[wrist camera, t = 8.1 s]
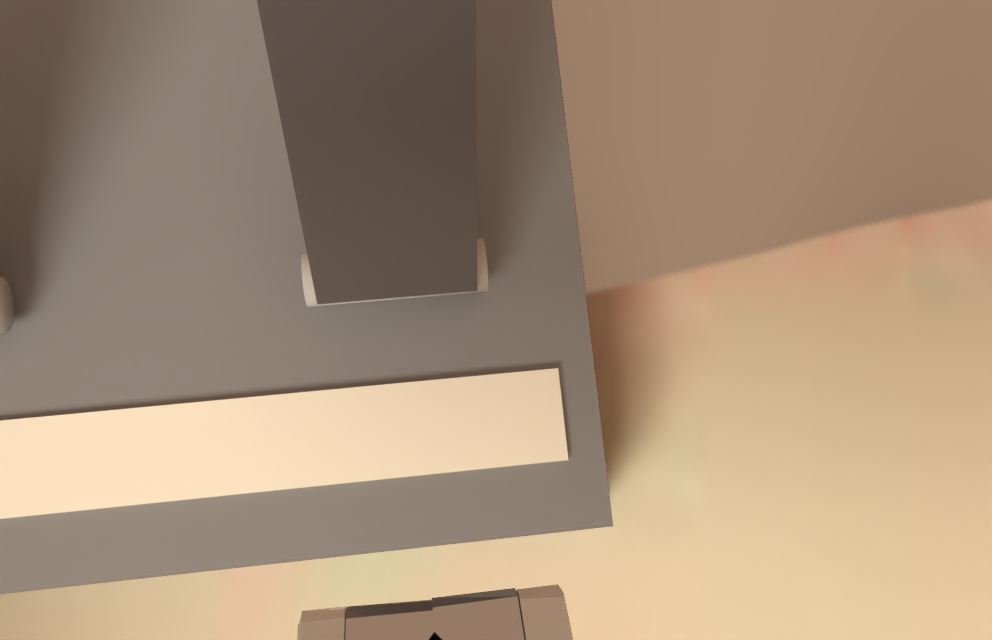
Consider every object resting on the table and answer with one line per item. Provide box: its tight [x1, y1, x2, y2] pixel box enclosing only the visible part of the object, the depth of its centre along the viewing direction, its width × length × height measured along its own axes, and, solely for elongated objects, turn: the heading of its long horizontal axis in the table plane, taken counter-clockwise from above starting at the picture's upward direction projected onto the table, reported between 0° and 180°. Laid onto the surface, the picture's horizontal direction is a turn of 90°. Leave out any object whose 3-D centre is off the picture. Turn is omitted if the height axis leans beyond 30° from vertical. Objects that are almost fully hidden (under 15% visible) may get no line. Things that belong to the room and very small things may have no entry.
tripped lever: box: [257, 0, 488, 307], centre depth 21 cm, size 5×2×10 cm
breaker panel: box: [0, 0, 613, 594], centre depth 26 cm, size 22×16×3 cm
